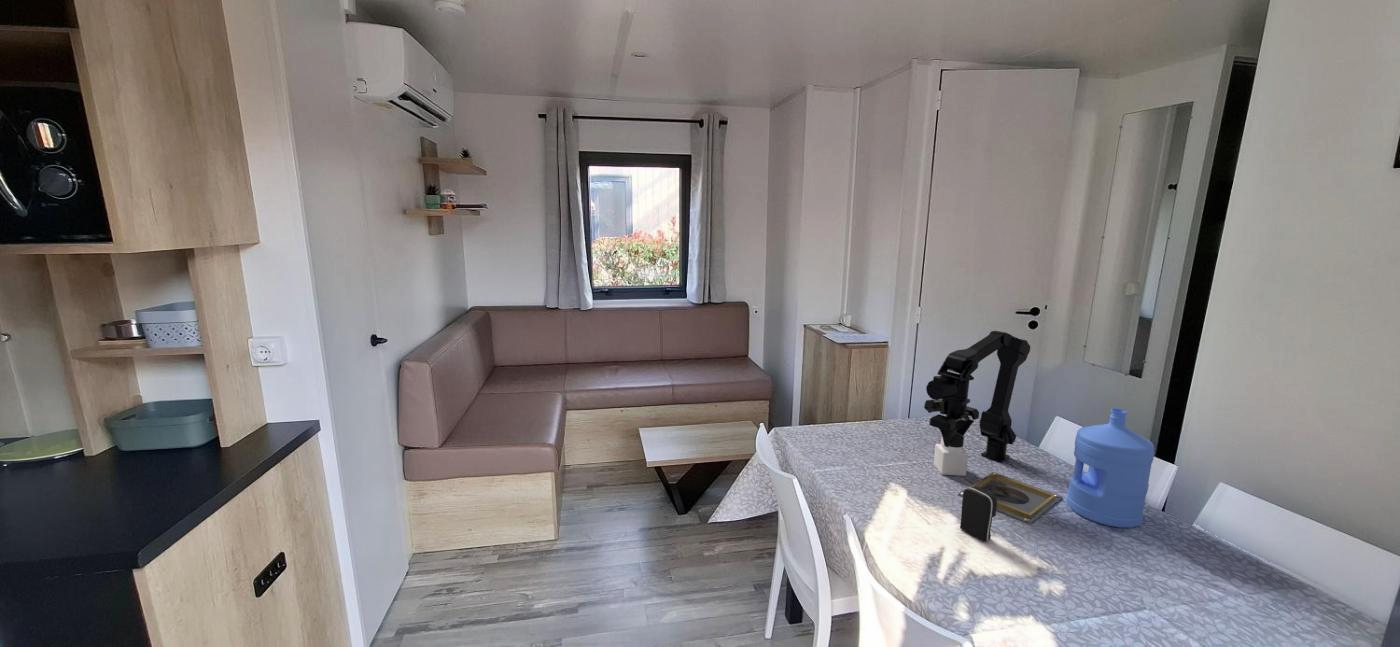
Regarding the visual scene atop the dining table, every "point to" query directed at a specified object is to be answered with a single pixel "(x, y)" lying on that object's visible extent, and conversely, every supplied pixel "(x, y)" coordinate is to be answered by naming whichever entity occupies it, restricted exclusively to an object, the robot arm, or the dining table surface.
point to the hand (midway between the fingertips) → (952, 444)
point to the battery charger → (978, 512)
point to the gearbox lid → (1017, 497)
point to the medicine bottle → (951, 457)
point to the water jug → (1111, 473)
